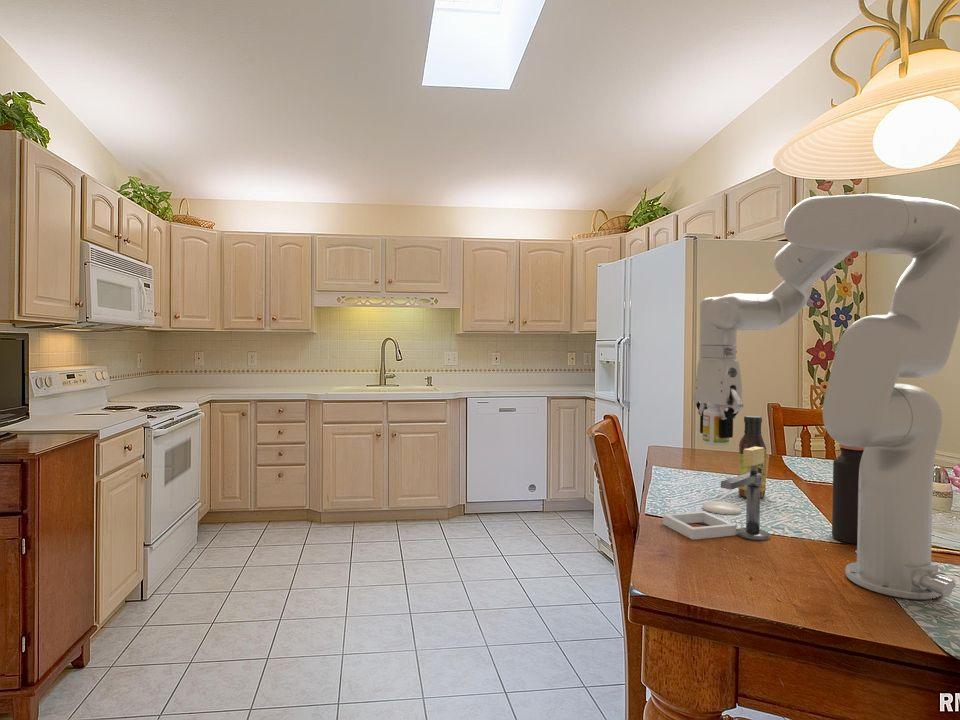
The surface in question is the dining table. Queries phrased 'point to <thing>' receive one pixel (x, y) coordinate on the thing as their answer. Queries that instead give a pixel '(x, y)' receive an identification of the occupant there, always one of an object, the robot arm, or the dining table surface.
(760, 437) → the sauce bottle
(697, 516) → the dock
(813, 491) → the dining table surface
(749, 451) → the lever handle
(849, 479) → the vinegar
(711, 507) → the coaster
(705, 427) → the supplement bottle
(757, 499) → the post
